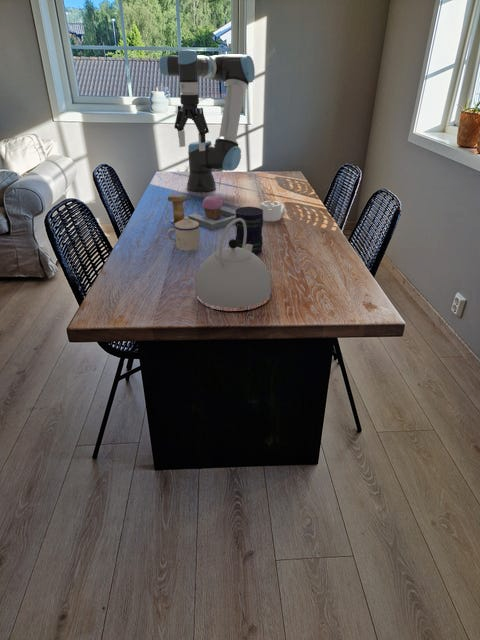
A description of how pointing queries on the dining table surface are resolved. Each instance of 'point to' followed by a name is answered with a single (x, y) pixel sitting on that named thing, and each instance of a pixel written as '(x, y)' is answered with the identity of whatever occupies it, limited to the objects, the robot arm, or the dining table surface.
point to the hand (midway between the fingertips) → (192, 148)
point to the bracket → (272, 210)
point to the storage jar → (250, 228)
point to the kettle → (233, 275)
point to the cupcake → (212, 206)
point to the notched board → (212, 223)
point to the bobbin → (177, 206)
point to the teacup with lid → (186, 234)
